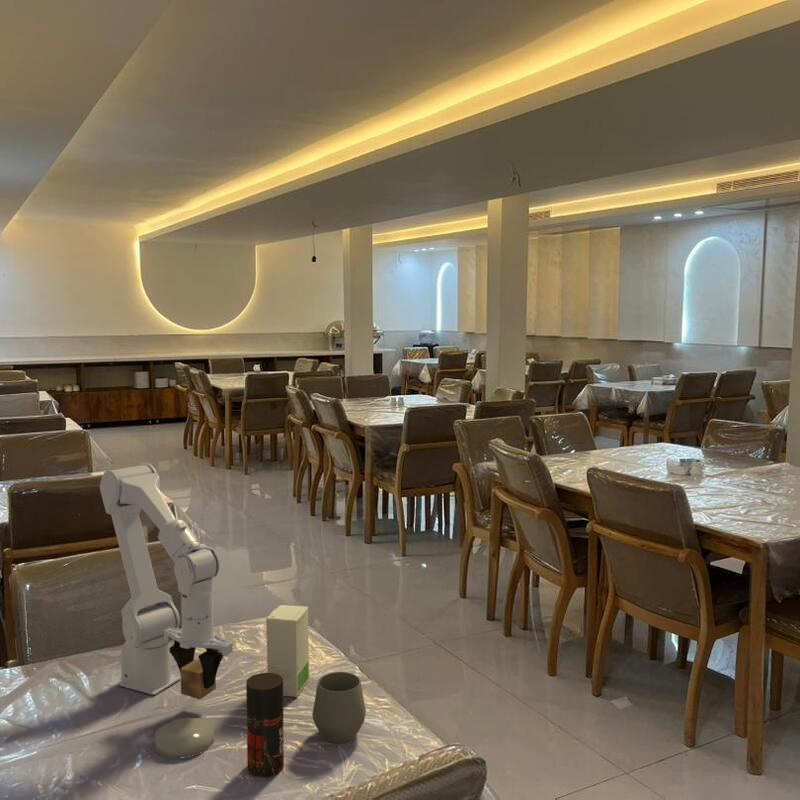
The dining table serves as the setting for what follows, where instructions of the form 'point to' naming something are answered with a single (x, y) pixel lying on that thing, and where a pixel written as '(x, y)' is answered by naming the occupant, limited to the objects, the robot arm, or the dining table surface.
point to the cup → (339, 706)
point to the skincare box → (289, 647)
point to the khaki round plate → (184, 737)
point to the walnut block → (194, 680)
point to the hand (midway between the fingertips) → (198, 683)
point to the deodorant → (265, 725)
